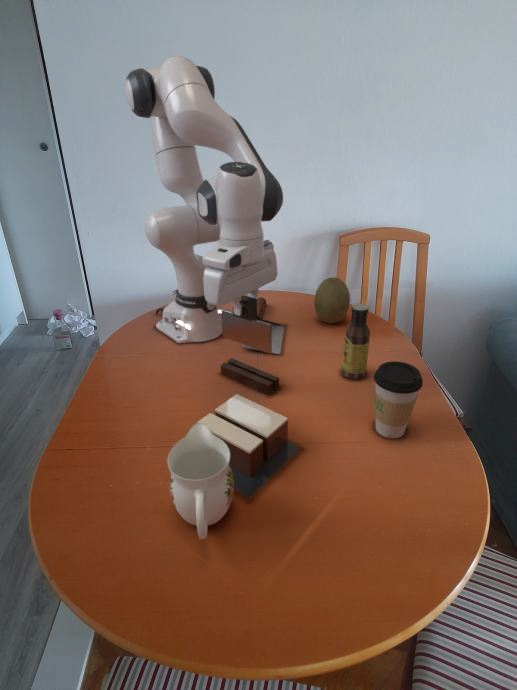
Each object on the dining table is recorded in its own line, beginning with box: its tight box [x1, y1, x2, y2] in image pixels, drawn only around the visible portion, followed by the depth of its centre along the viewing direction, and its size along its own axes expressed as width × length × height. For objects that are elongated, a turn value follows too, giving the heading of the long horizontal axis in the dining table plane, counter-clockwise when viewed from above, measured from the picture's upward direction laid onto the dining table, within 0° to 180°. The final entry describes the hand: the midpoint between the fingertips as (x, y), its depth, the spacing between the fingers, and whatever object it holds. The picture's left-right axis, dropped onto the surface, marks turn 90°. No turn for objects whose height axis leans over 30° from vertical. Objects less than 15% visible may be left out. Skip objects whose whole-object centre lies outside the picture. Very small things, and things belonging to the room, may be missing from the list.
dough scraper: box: [220, 294, 273, 355], centre depth 99 cm, size 14×2×11 cm, turn 52°
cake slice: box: [196, 412, 263, 477], centre depth 90 cm, size 14×4×7 cm, turn 52°
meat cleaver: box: [242, 296, 286, 355], centre depth 142 cm, size 34×11×4 cm, turn 173°
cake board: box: [214, 393, 301, 499], centre depth 91 cm, size 20×17×7 cm
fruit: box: [313, 277, 351, 325], centre depth 142 cm, size 11×11×15 cm
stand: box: [220, 357, 280, 396], centre depth 116 cm, size 16×4×3 cm, turn 52°
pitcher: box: [166, 422, 235, 540], centre depth 76 cm, size 11×18×14 cm, turn 6°
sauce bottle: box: [341, 302, 371, 380], centre depth 113 cm, size 6×6×20 cm
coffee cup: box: [373, 360, 424, 439], centre depth 95 cm, size 10×10×15 cm
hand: (244, 311), depth 97 cm, fingers closed on dough scraper, 2 cm apart
